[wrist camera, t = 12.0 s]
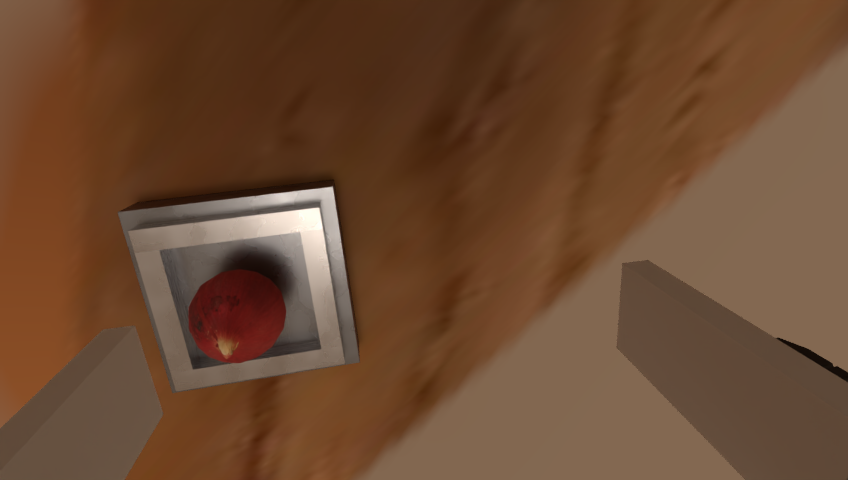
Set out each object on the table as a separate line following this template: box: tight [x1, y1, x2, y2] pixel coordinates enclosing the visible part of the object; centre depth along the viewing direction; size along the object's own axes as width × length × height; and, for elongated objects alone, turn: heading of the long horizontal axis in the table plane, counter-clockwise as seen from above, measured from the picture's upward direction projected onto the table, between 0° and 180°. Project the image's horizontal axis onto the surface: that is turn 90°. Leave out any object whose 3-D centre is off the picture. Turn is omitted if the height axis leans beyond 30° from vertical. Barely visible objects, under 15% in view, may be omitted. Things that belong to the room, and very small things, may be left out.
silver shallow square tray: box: [118, 180, 360, 393], centre depth 34 cm, size 14×14×4 cm
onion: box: [188, 269, 286, 363], centre depth 30 cm, size 6×6×8 cm
